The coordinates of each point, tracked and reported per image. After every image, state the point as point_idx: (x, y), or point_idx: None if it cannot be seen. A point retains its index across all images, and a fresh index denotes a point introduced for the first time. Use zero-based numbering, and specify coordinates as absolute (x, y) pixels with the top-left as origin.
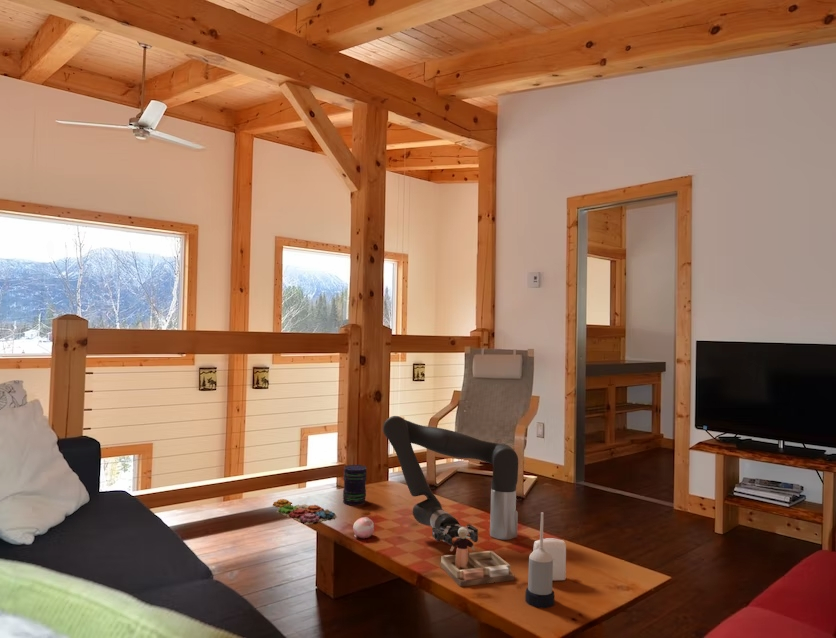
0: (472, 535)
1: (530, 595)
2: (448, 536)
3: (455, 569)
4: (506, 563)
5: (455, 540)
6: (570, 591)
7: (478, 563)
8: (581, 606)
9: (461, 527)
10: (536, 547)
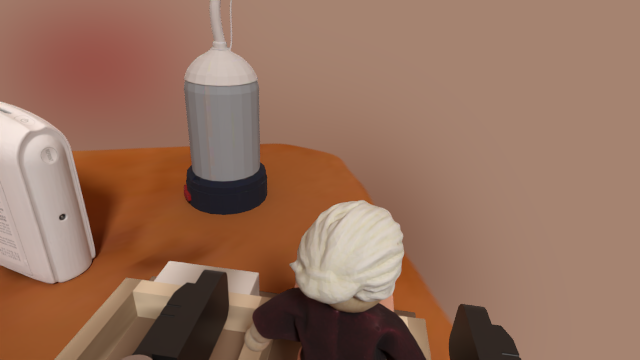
0: (202, 327)
1: (265, 171)
2: (496, 341)
3: (426, 341)
4: (116, 300)
5: (410, 342)
6: (99, 196)
7: (251, 356)
8: (168, 163)
9: (372, 217)
10: (60, 140)
